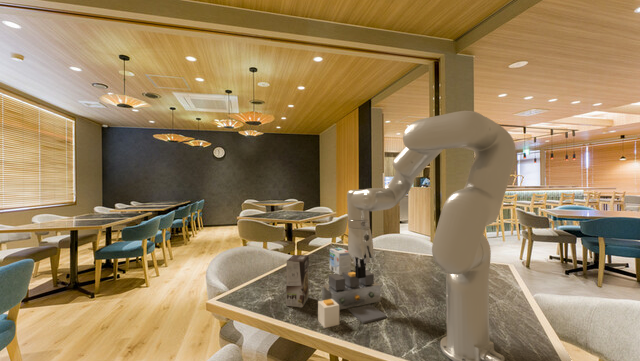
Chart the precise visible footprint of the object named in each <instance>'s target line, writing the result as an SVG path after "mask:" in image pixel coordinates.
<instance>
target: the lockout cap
mask: <svg viewBox="0 0 640 361" xmlns="http://www.w3.org/2000/svg"><path fill="white" fill-rule="evenodd" d="M317 321H318V322H319V323H320V325H321V326H322V327H323V328H324V329H325V328H330V327H334V326H335V327H336V326H339V325H340V310H339V304H337V303H336V302H335V301H334V300H333V299H328V300H323V301H322V300H318V301H317Z"/></svg>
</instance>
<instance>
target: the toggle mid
mask: <svg viewBox="0 0 640 361" xmlns="http://www.w3.org/2000/svg"><path fill="white" fill-rule="evenodd" d="M341 276H342V277H343V278H345V284H346V285H348V286H349V287H356V286H359V279H358V278H357V277H356V275H355V271H352V270H351V271H348V272H342V275H341Z"/></svg>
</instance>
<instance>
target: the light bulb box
mask: <svg viewBox="0 0 640 361" xmlns="http://www.w3.org/2000/svg"><path fill="white" fill-rule="evenodd" d="M329 270H330V271H331V272H333V274H339V275H340V276H342V272H348V271H351V272H352V257H351V255H350V254H349V251H348V250H347V249H345V248H342V247H335V248H329Z"/></svg>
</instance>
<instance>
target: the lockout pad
mask: <svg viewBox="0 0 640 361" xmlns="http://www.w3.org/2000/svg"><path fill="white" fill-rule="evenodd" d="M348 312H349V313H350V314H352V315H353V316H354V317H355V318H356V319H357V320H359V322H361V323H362V324H367V323H372V322H375V321H380V320H384V319H387V318H388V316H387V314H385V313H384V312H383V311H381V310H380V309H378V308H377V307H375V306H374V305H373V304H365V305H360V306H356V307H351V308H348Z"/></svg>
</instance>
